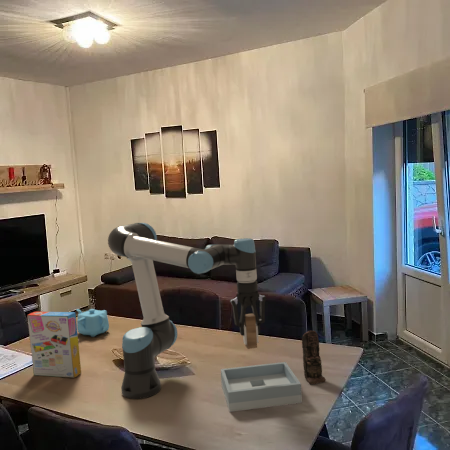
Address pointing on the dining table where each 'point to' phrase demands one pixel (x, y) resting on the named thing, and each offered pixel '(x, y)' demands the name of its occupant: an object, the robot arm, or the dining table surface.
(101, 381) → the dining table surface
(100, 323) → the teapot
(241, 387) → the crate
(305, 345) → the statue
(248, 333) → the peg
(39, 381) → the dining table surface
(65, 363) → the game box
